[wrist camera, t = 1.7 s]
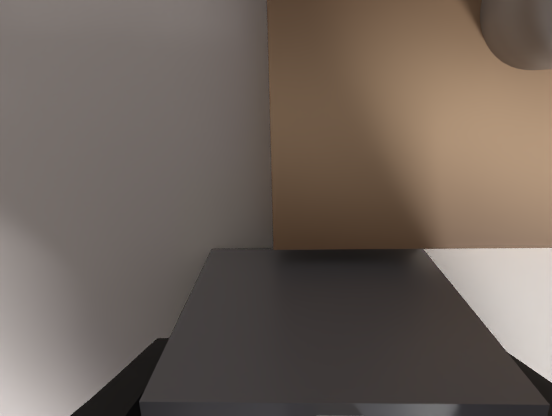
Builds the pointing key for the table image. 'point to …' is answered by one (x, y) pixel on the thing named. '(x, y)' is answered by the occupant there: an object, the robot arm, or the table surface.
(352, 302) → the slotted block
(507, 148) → the block
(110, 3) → the table surface
